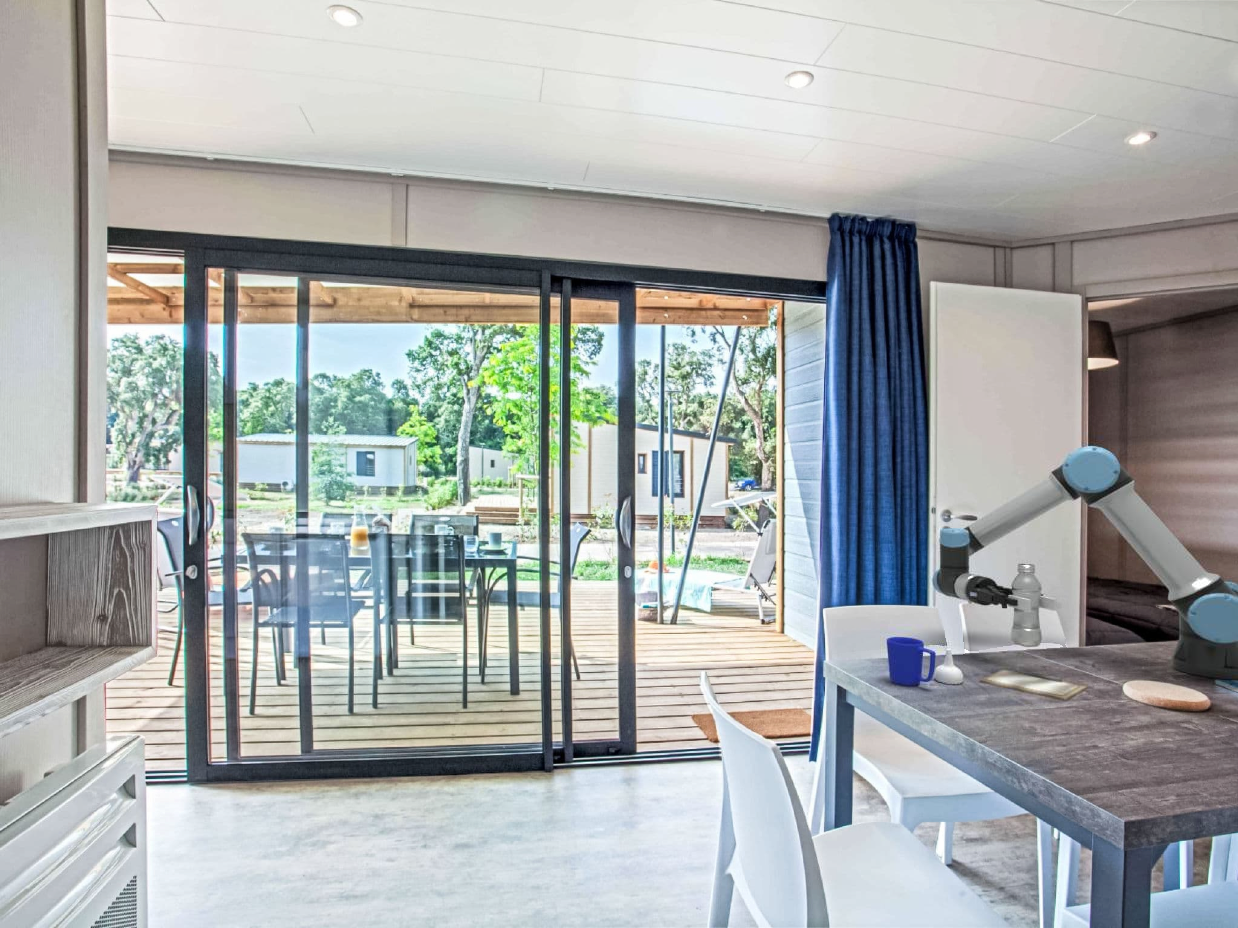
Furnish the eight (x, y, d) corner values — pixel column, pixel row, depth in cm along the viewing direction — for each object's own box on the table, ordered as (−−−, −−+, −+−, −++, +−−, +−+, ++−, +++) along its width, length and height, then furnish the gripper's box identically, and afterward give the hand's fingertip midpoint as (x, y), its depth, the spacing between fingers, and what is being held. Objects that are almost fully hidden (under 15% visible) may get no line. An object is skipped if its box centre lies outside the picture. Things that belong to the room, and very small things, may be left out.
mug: (922, 694, 152) (921, 649, 153) (879, 680, 163) (879, 638, 163) (946, 689, 156) (946, 645, 157) (903, 676, 167) (902, 635, 167)
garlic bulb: (929, 681, 164) (926, 649, 164) (945, 675, 167) (943, 643, 167) (953, 688, 159) (950, 655, 159) (969, 682, 162) (967, 649, 162)
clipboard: (1086, 688, 157) (1086, 682, 157) (1065, 700, 148) (1065, 694, 148) (1003, 671, 171) (1003, 666, 171) (979, 681, 162) (979, 676, 162)
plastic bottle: (1033, 643, 169) (1033, 563, 169) (1047, 650, 162) (1047, 566, 162) (1006, 642, 169) (1006, 562, 170) (1018, 649, 163) (1018, 565, 163)
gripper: (1008, 602, 185) (1078, 620, 162) (944, 603, 182) (1005, 621, 159) (1008, 575, 185) (1077, 588, 162) (944, 575, 182) (1005, 589, 160)
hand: (1042, 605), depth 161 cm, fingers closed on plastic bottle, 6 cm apart
